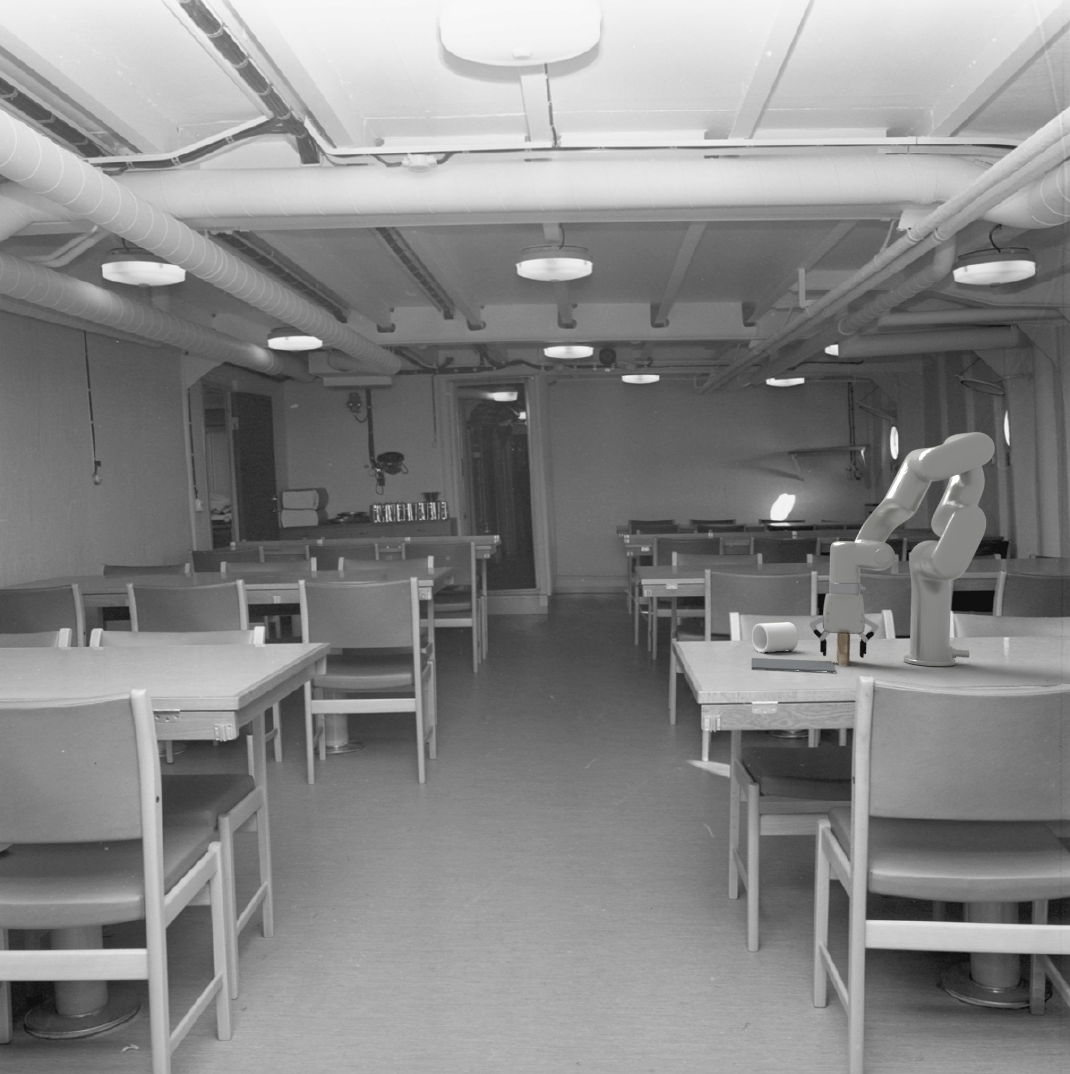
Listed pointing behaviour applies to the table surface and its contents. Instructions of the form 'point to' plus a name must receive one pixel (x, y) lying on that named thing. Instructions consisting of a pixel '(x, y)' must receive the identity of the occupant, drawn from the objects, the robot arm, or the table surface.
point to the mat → (792, 665)
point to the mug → (774, 637)
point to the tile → (843, 648)
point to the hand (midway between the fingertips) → (842, 655)
